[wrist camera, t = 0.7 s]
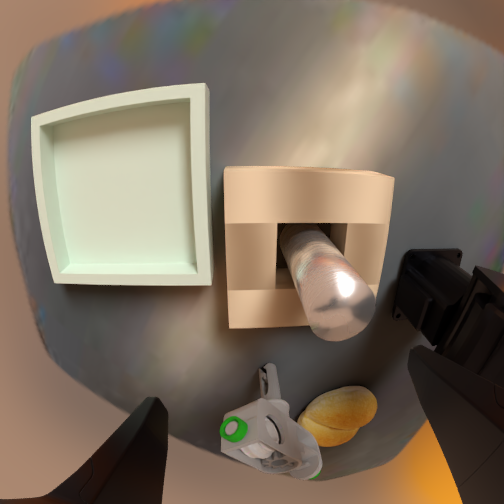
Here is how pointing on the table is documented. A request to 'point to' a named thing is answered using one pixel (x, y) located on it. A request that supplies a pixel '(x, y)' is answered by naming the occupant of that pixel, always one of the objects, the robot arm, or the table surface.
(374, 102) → the table surface
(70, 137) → the parts tray
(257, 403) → the mechanical component
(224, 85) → the table surface
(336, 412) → the bread roll
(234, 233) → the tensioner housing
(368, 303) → the pin
